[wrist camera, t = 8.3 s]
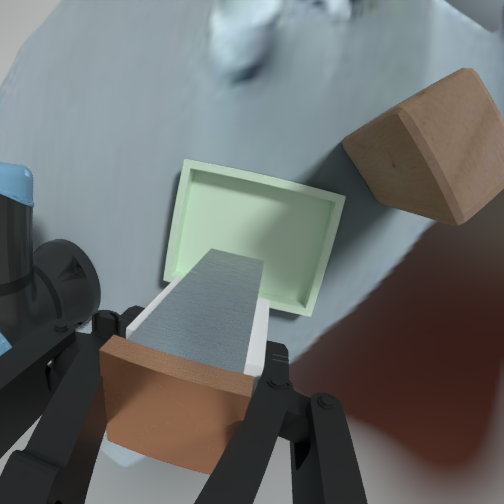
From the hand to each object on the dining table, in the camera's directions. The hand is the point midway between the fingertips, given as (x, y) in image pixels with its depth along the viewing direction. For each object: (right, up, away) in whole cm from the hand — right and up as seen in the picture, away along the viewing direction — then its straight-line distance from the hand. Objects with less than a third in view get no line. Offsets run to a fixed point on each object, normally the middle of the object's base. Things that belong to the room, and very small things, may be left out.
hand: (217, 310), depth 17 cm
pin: (0, +1, +6) cm, 6 cm away
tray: (+2, +5, +23) cm, 23 cm away
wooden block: (+20, +16, +19) cm, 32 cm away
